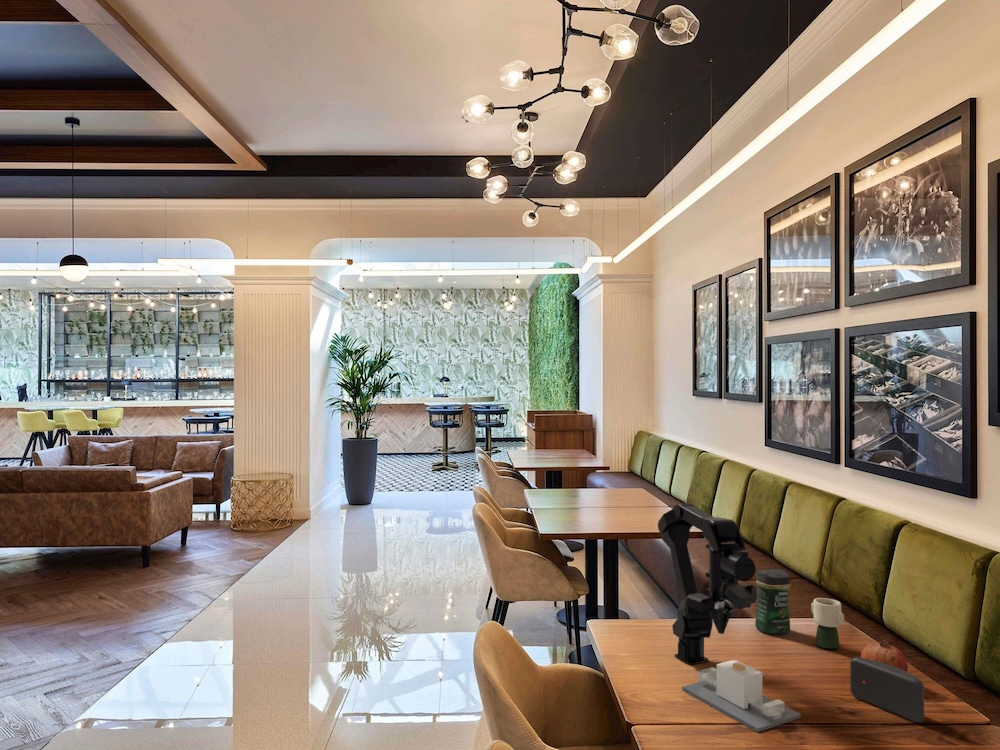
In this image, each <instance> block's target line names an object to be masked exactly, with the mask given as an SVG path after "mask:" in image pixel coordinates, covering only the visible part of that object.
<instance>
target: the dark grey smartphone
mask: <svg viewBox="0 0 1000 750" xmlns="http://www.w3.org/2000/svg"><path fill="white" fill-rule="evenodd" d="M849 663H850V667H849V669H850V670H849V675H850V676H849V680H850V681H849V684H850V685H849V687H850V688H849V689H850V690H849V691H850V693H851V694H852V695H853V697H854V698H856V699H857V700H861V701H862V700H863V702H866V703H867V702H868V703H867V704H870V703H871V704H870V705H872V704H873V705H872V706H874V705H875V707H877V706H878V707H877V708H879V707H880V708H879V709H882V708H883V709H882V710H884V709H885V711H886V710H887V712H889V711H890V712H889V713H891V712H892V714H894V713H895V714H894V715H896V714H897V715H896V716H898V715H900V716H899V717H901V716H902V717H901V718H903V717H904V718H903V719H906V718H907V719H906V720H908V719H909V721H911V722H913V721H914V722H913V723H916V722H917V723H916V724H922V723H923V722H924V721H925V686H924V683H923V682H922V680H921V679H920V678H918V677H917V676H916V675H914V674H913V673H910V672H909V671H907V672H906V671H904V670H902V669H899V668H897V667H894V666H891V665H888V664H885V663H882V662H878V661H874V660H870V659H865V658H860V657H853V658H851V660H850V662H849Z"/></svg>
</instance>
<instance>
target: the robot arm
mask: <svg viewBox="0 0 1000 750" xmlns="http://www.w3.org/2000/svg"><path fill="white" fill-rule="evenodd" d="M692 527H695V528H696V529H697V530H700V531H701V532H702V536H703V538H704V539H705V540H706V541H707V542H708V543H707V544H706V545H705V548H706V549H707V550H708V551H709V557H708V558H709V565H708V568H709V570H708V571H707V572H705V577H706V578H708V579H709V580H708V588H705V594H707V595H705V594H702V593H700V592H698V588H697V582H696V579H695V578H696V577H695V574H694V569H693V565H692V561H691V557H690V552H689V548H688V543H689V540H690V538H691V529H692ZM657 528H658V531H659V533H660V536H661V540H662V541H663V543H664V544H665V545H666V546H667V547H668V548H669V550H670V556H671V559H672V564H673V571H674V573H675V577H676V578H675V579H676V583H677V588H678V592H679V597H680V602H679V605H678V608H677V609H678V610H677V619H676V620H675V622H674V623H673V624H672V626H671V627H672V632H673V635H674V636H676V637H678V642H677V653H674V657H675V658H677V659H679V660H681V661H683V662H685V663H687V664H688V665H696V664H699V663H700V664H701V663H704V662H708V661H709V658H708V657H705V639H707V638H708V639H709V638H710V637H711V634H712V630H713V624H714V626H715V628H716V631H717V633H718V634H720V635H723V634H725V631H726V629H727V626H728V624H729V621H730V617H731V615H732V614H733V612H735V611H737V610H743V609H746V608H748V609H749V608H751V607H752V604H753V603H755V604H756V601H758V587H757V586H755V585H754V584H747V585H744V584H743V585H741V584H740V583H739V581H740V582H748V581H750V580H752V579H753V578H754V577H755V573H756V570H757V568H756V567H757V565H755V562H754V560H753V559H752V558H750V557H749V552H748V551H746V545H745V543H746V542H745V540H744V539H743V537H742V534H741V532H740V529H739V527H738V525H737V524H736V521H734V520H733V519H730V518H725V517H717V516H716V517H715V516H713V515H711V514H709V513H707V512H705V511H703V510H702V509H700V508H697V507H696V506H695V505H694V504H692V503H678V504H676V505H675V506H674V507H673V508H672V509H671V510H668V511H667V512H664V513H663V514H662V516H661V517H660V518H659V520H658V522H657ZM708 595H709V596H708Z"/></svg>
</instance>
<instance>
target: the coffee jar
mask: <svg viewBox="0 0 1000 750" xmlns="http://www.w3.org/2000/svg"><path fill="white" fill-rule="evenodd" d="M755 581H756V587H757V603H756V604H757V605H756V613H755V623H754V624H755V628H756V629H757V630H759V631H760V632H761V633H766V634H768V635H782V634H783V635H784V634H788V633H790V632H791V621H790V620H791V619H790V609H789V608H790V607H789V592H790V588H791V576H790V574H789V571H786V570H783V569H781V568H777V569H773V568H772V569H758V571H757V572H756V580H755Z"/></svg>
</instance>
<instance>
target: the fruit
mask: <svg viewBox="0 0 1000 750" xmlns="http://www.w3.org/2000/svg"><path fill="white" fill-rule="evenodd" d="M859 658H865V659H870V660H874V661H878V662H882V663H885V664H888V665H891V666H894V667H897V668H899V669H902V670H904V671H906V672H908V671H909V670H908V669H909V668H908V667H909V666H908V665H909V664H908V661H907V658H906V656H905V655H904V654H903V652H902V651H901V650H900V649H898V648H897V647H895V646H893V645H890V644H889V642H888V641H886V640H884V639H882V640H881V641H879V642H874V643H869V644H866V646H865V647H864V648H863V649H862V651H861V653H860V657H859Z"/></svg>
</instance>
